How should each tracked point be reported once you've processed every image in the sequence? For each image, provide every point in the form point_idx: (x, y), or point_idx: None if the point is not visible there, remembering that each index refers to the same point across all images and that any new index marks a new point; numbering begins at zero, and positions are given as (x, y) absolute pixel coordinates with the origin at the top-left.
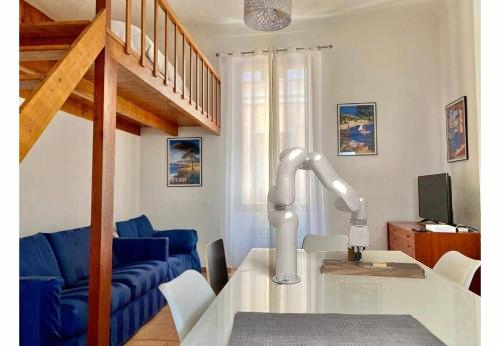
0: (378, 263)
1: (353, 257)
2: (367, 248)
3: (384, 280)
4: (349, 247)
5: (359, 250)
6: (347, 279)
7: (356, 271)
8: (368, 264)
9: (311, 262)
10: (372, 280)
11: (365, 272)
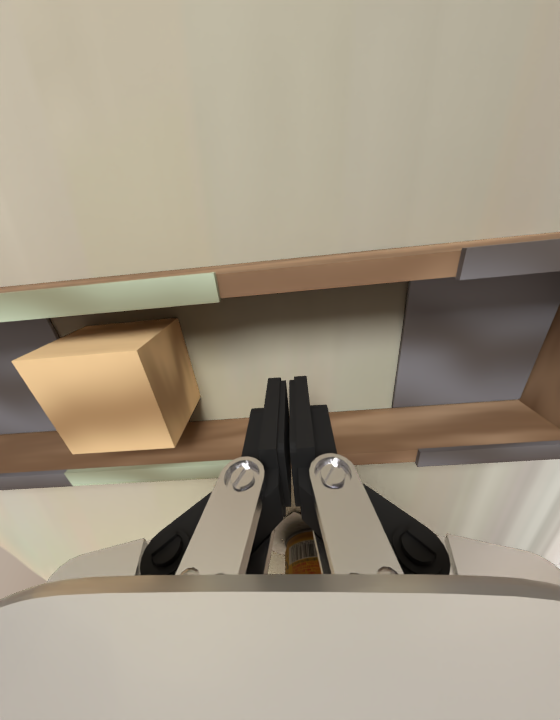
0: (103, 400)
1: (317, 564)
2: (111, 556)
3: (37, 117)
4: (487, 550)
5: (271, 512)
6: (402, 7)
7: (303, 259)
8: (215, 448)
9: (548, 504)
10: (140, 66)
11: (223, 268)
